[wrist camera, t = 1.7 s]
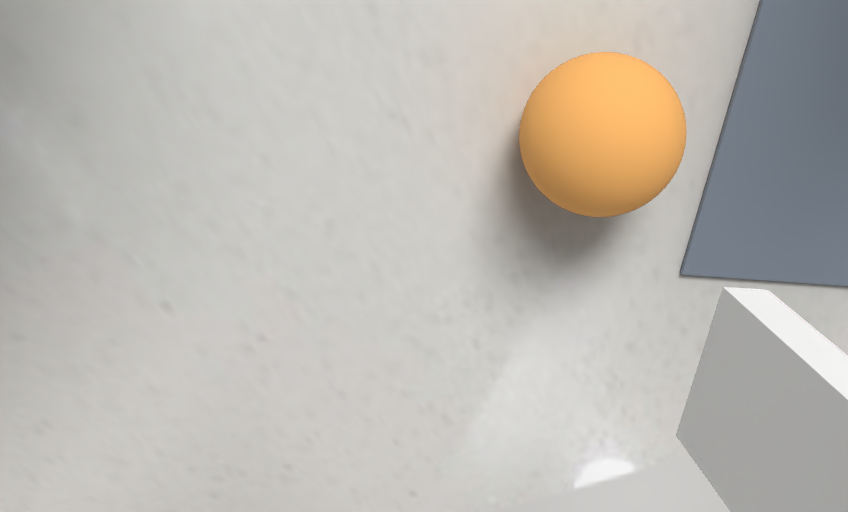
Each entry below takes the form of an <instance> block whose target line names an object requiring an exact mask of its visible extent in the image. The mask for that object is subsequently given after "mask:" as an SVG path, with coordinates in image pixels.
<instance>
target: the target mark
mask: <svg viewBox="0 0 848 512" xmlns="http://www.w3.org/2000/svg"><path fill="white" fill-rule="evenodd" d="M680 273H681V274H682V275H695V276H710V277H724V278H738V279H752V280H767V281H781V282H795V283H810V284H824V285H838V286H848V0H760V4H759V7H758V10H757V14H756V17H755V20H754V24H753V27H752V31H751V34H750V37H749V41H748V44H747V47H746V51H745V54H744V58H743V61H742V64H741V68H740V71H739V74H738V78H737V81H736V85H735V88H734V91H733V95H732V98H731V101H730V105H729V108H728V112H727V115H726V118H725V122H724V125H723V129H722V132H721V135H720V139H719V142H718V145H717V149H716V152H715V156H714V159H713V162H712V166H711V169H710V172H709V176H708V179H707V183H706V186H705V189H704V193H703V196H702V199H701V203H700V206H699V210H698V213H697V216H696V220H695V223H694V226H693V230H692V233H691V237H690V240H689V243H688V247H687V250H686V254H685V257H684V260H683V264H682V267H681V270H680Z"/></svg>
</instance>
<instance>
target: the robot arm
mask: <svg viewBox="0 0 848 512" xmlns="http://www.w3.org/2000/svg"><path fill="white" fill-rule="evenodd" d="M676 436H677V437H678V439H679V440H680V442H681V443H682V444H683V446H684V447H685V449H686V450H687V451H688V453H689V454H690V456H691V457H692V458H693V460H694V461H695V462H696V463H697V465H698V467H699V468H700V469H701V471H702V472H703V474H704V475H705V476H706V478H707V479H708V481H709V482H710V483H711V485H712V486H713V488H714V489H715V490H716V492H717V493H718V495H719V496H720V497H721V499H722V500H723V502H724V503H725V504H726V506H727V507H728V509H729V510H730V511H731V512H848V356H847V355H846V354H845V353H844V352H843V351H841V350H840V349H839V348H838V347H837V346H835V345H834V344H833V343H832V342H830V341H829V340H828V339H827V338H826V337H824V336H823V335H822V334H821V333H820V332H818V331H817V330H816V329H815V328H814V327H812V326H811V325H810V324H809V323H807V322H806V321H805V320H804V319H803V318H801V317H800V316H799V315H798V314H797V313H795V312H794V311H793V310H792V309H791V308H789V307H788V306H787V305H786V304H784V303H783V302H782V301H781V300H780V299H778V298H777V297H776V296H775V295H774V294H772V293H771V292H770V291H769V290H763V289H747V288H731V287H723V289H722V292H721V295H720V298H719V301H718V305H717V308H716V311H715V314H714V317H713V320H712V323H711V327H710V330H709V333H708V336H707V339H706V342H705V345H704V349H703V352H702V355H701V358H700V361H699V364H698V367H697V371H696V374H695V377H694V380H693V383H692V386H691V390H690V393H689V396H688V399H687V402H686V405H685V408H684V412H683V415H682V418H681V421H680V424H679V427H678V430H677V434H676Z"/></svg>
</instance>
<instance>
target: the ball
mask: <svg viewBox="0 0 848 512" xmlns="http://www.w3.org/2000/svg"><path fill="white" fill-rule="evenodd" d="M685 143H686V121H685V115H684V111H683V108H682V105H681V102H680V100H679V98H678V95H677V93H676V92H675V90H674V89H673V87H672V86H671V84H670V83H669V82H668V80H667V79H666V78H665V77H664V76H663V75H662V74H661V73H660V72H659V71H657V70H656V69H655V68H653V67H652V66H650V65H649V64H647V63H645V62H644V61H642V60H640V59H637V58H635V57H632V56H629V55H625V54H620V53H613V52H600V53H590V54H586V55H581V56H579V57H576V58H573V59H571V60H569V61H567V62H565V63H563V64H561V65H560V66H558V67H557V68H555V69H554V70H552V71H551V72H550V73H549V74H548V75H547V76H545V77H544V78H543V80H542V81H541V82H540V83H539V84H538V85H537V87H536V88H535V89H534V91H533V92H532V94H531V96H530V98H529V99H528V101H527V104H526V106H525V109H524V111H523V115H522V119H521V123H520V131H519V144H520V151H521V156H522V160H523V163H524V166H525V168H526V171H527V173H528V175H529V176H530V178H531V179H532V181H533V183H534V184H535V186H536V187H537V188H538V189H539V190H540V192H541V193H542V194H544V195H545V196H546V197H547V198H548V199H549V200H550V201H552V202H553V203H555V204H556V205H558V206H559V207H562V208H564V209H566V210H568V211H570V212H573V213H576V214H579V215H584V216H591V217H609V216H616V215H620V214H624V213H627V212H630V211H633V210H635V209H637V208H639V207H641V206H643V205H645V204H646V203H648V202H649V201H651V200H652V199H653V198H655V197H656V196H657V195H658V194H659V193H660V192H661V191H662V190H663V189H664V188H665V187H666V186H667V184H668V183H669V182H670V181H671V179H672V178H673V176H674V174H675V173H676V171H677V169H678V167H679V165H680V162H681V160H682V157H683V153H684V149H685Z"/></svg>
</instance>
